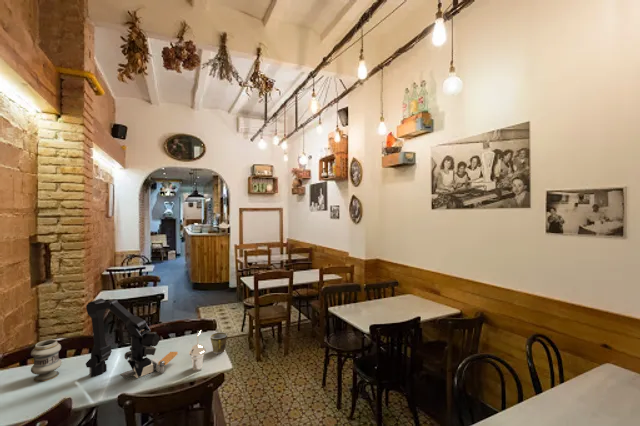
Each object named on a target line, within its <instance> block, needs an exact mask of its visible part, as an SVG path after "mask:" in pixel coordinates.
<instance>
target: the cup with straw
mask: <svg viewBox="0 0 640 426" xmlns="http://www.w3.org/2000/svg"><path fill="white" fill-rule="evenodd" d="M201 333H202V329H200V331H199V332H198V333H197V334H196V335H197V336H196V344H194V345H193V346H192V347H191V349H190V350H189V352H188V355H189V356H190V359H191V365H192V370H193V371H196V373H199V372H201V371H202V370H203V369H202V368H203V362H204V356H205V354H206V352H207V350H206V348H205V347H204V345H202V344H201V343H199V336H200V334H201Z"/></svg>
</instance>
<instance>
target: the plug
mask: <svg viewBox="0 0 640 426" xmlns="http://www.w3.org/2000/svg"><path fill="white" fill-rule="evenodd" d="M149 373H150V374H152V373H154V369H153V364H152V362H151V365H148V366H146V367H144V368H143V371H142V374H141V376H140V378H142V377H143V375H144V376H145V375H146V376H147V374H148V375H149ZM133 375H134V376H135V377H134V376H133ZM132 376H133V377H134V378H135V379H139V377H138V375H137V373H136V371H135V368H134V372H132V371H131V373H129V374H127V373H126V374H124V378H123V380H125V378H127V377H132Z"/></svg>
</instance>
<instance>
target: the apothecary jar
mask: <svg viewBox="0 0 640 426" xmlns="http://www.w3.org/2000/svg"><path fill="white" fill-rule="evenodd" d="M61 349H62V345H61V344H60V343H59V342H58V340H57V339H45V340H42V341H39V342H37V343H36V344H35V346H34V348H33V349H32V350H31V352H30V356H31V357H32V358H33V365H31V368H30V372H31V373H32V374H33V375H36V376H35V377H34V378H33V381H34V382H36V383H39V382H46V381H50V380H52V379H53V380H54V379H55V378H56V377H58V376H59V374H60V372H59V371H57V370H58V369H59V368H60V367H61V365H63V364H62V363H63V361H62V359H61V358H59V357H60V356H59V352H60V350H61Z"/></svg>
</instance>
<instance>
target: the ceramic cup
mask: <svg viewBox="0 0 640 426" xmlns="http://www.w3.org/2000/svg"><path fill="white" fill-rule="evenodd" d="M209 337H210V338H209V339H210V342H211V346H212V352H213V354H215V355H220V354H222V353H224V352H225V351H224V350H226V344H227V340H228V339H227V338H228V333H226V332H222V331H220V332H219V331H218V332H214V333H212V334H211V335H210V336H209Z"/></svg>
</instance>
